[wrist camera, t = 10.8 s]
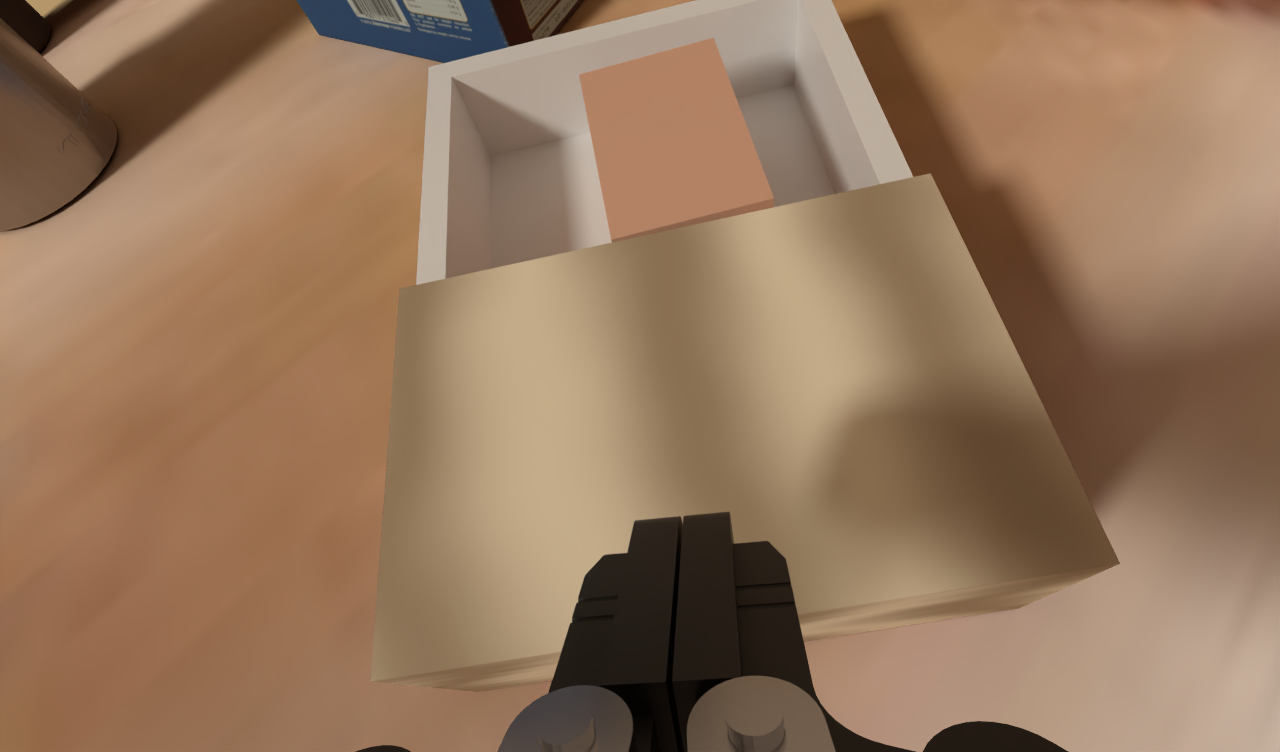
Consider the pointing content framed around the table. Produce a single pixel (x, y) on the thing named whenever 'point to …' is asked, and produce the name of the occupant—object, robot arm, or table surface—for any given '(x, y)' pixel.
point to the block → (671, 142)
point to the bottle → (25, 22)
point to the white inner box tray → (561, 141)
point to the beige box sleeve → (718, 432)
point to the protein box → (439, 24)
